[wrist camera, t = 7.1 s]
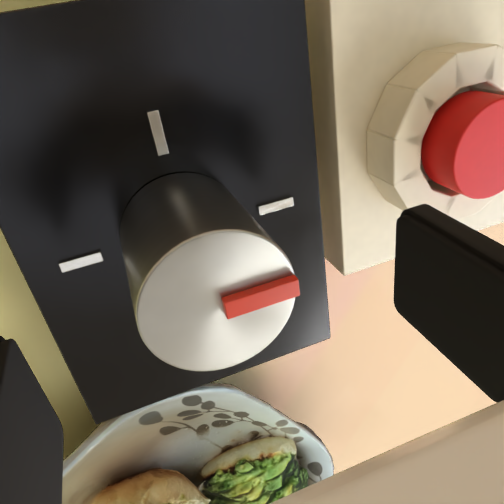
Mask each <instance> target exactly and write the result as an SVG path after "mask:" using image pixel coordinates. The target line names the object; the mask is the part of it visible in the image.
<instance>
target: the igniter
mask: <svg viewBox="0 0 504 504" xmlns="http://www.w3.org/2000/svg"><path fill="white" fill-rule="evenodd" d="M305 12H306V25H307V38H308V51H309V64H310V77H311V90H312V103H313V116H314V129H315V142H316V155H317V168H318V181H319V194H320V207H321V220H322V233H323V246H324V257H325V258H326V259H327V260H328V261H329V262H330V263H331V264H332V265H333V266H334V267H335V268H336V269H338V270H339V271H340V272H341V273H342V274H343V275H348V274H351V273H354V272H357V271H360V270H363V269H366V268H369V267H372V266H375V265H378V264H381V263H383V262H386V261H389V260H392V259H395V245H396V222H397V219H398V218H399V217H400V216H401V213H402V211H404V210H405V209H408V208H411V207H415V206H418V205H421V204H428V205H430V206H432V207H434V208H436V209H437V210H439V211H441V212H443V213H445V214H447V215H448V216H450V217H452V218H454V219H456V220H458V221H459V222H461V223H463V224H465V225H467V226H469V227H470V228H472V229H474V230H476V231H478V230H481V229H484V228H487V227H490V226H493V225H496V224H499V223H502V222H504V190H503V191H502V192H500V193H498V194H496V195H494V196H492V197H489V198H485V199H473V198H469V197H467V196H464V195H462V194H460V193H458V192H455V191H453V190H451V189H449V188H446V187H444V186H442V185H440V184H438V183H435V182H434V181H433V180H431V179H430V178H429V177H428V175H427V174H426V172H425V170H424V168H423V164H422V159H421V148H422V141H423V137H424V134H425V132H426V130H427V128H428V126H429V124H430V122H431V120H432V118H433V116H434V115H435V113H436V112H437V111H438V110H439V108H440V107H441V106H442V105H443V104H444V103H446V102H447V101H448V100H449V99H451V98H452V97H454V96H456V95H458V94H460V93H463V92H466V91H482V92H488V93H494V94H500V95H504V0H305Z"/></svg>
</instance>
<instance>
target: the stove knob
mask: <svg viewBox="0 0 504 504" xmlns="http://www.w3.org/2000/svg"><path fill="white" fill-rule="evenodd" d="M120 243H121V248H122V253H123V258H124V263H125V268H126V273H127V278H128V283H129V288H130V294H131V299H132V304H133V309H134V314H135V319H136V324H137V327H138V331H139V334H140V336H141V338H142V340H143V342H144V343H145V345H146V346H147V348H148V349H149V350H150V351H151V352H152V353H153V354H154V355H155V356H157V357H158V358H159V359H161V360H162V361H164V362H166V363H167V364H169V365H172V366H174V367H177V368H180V369H184V370H189V371H215V370H220V369H225V368H228V367H232V366H235V365H237V364H239V363H242V362H244V361H246V360H248V359H250V358H252V357H253V356H255V355H256V354H258V353H259V352H261V351H262V350H263V349H264V348H265V347H267V346H268V345H269V344H270V343H271V342H272V341H273V340H274V339H275V338H276V337H277V335H278V334H279V333H280V332H281V330H282V329H283V327H284V326H285V324H286V322H287V320H288V319H289V317H290V314H291V312H292V309H293V306H294V301H295V297H297V296H300V289H299V280H298V278H297V277H296V276H295V274H294V270H293V268H292V265H291V263H290V261H289V259H288V257H287V256H286V254H285V253H284V252H283V250H282V249H281V248H280V247H279V246H278V245H277V244H276V243H275V241H274V240H273V239H272V238H271V237H270V236H269V235H268V234H267V233H266V231H265V230H264V229H263V228H262V227H261V226H260V225H259V224H258V223H257V222H256V220H255V219H254V218H253V217H252V216H251V215H250V214H249V213H248V212H247V210H246V209H245V208H244V207H243V206H242V205H241V204H240V203H239V202H238V201H237V199H236V198H235V197H234V196H233V195H232V194H231V193H230V192H229V191H228V190H227V189H226V188H225V187H224V186H223V185H222V184H220V183H219V182H217V181H216V180H214V179H212V178H210V177H207V176H204V175H200V174H196V173H176V174H170V175H167V176H163V177H160V178H158V179H156V180H154V181H152V182H151V183H149V184H147V185H146V186H145V187H143V188H142V189H141V190H140V191H139V192H138V193H137V194H136V195H135V196H134V197H133V198H132V200H131V201H130V202H129V204H128V206H127V208H126V209H125V211H124V214H123V217H122V220H121V225H120Z"/></svg>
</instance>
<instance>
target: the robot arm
mask: <svg viewBox="0 0 504 504" xmlns="http://www.w3.org/2000/svg"><path fill="white" fill-rule="evenodd" d="M394 304H395V307H396V309H397V311H398V312H399V313H400V314H401V315H402V316H403V317H404V318H405V319H406V320H407V321H408V322H409V323H410V324H411V325H412V326H413V327H414V328H416V329H417V330H418V331H419V332H420V333H421V334H422V335H423V336H424V337H425V338H426V339H427V340H428V341H430V342H431V343H432V344H433V345H434V346H435V347H436V348H437V349H438V350H439V351H440V352H441V353H442V354H443V355H445V356H446V357H447V358H448V359H449V360H450V361H451V362H452V363H453V364H454V365H455V366H456V367H457V368H459V369H460V370H461V371H462V372H463V373H464V374H465V375H466V376H467V377H468V378H469V379H470V380H471V381H473V382H474V383H475V384H476V385H477V386H478V387H479V388H480V389H481V390H482V391H483V392H484V393H485V394H486V395H488V396H489V397H490V398H491V399H492V400H493V401H495V402H497V403H496V404H494V405H491V406H489V407H487V408H485V409H482V410H480V411H478V412H475V413H473V414H471V415H469V416H466V417H464V418H462V419H459V420H457V421H455V422H452V423H450V424H448V425H446V426H443V427H441V428H439V429H436V430H434V431H432V432H430V433H427V434H425V435H423V436H421V437H418V438H416V439H414V440H412V441H409V442H407V443H405V444H402V445H400V446H398V447H396V448H393V449H391V450H389V451H387V452H384V453H382V454H380V455H378V456H375V457H373V458H371V459H369V460H366V461H364V462H362V463H360V464H357V465H355V466H353V467H351V468H348V469H346V470H344V471H342V472H339V473H337V474H335V475H333V476H330V477H328V478H326V479H324V480H321V481H319V482H317V483H315V484H312V485H310V486H308V487H306V488H303V489H301V490H299V491H297V492H294V493H292V494H290V495H288V496H285V497H283V498H281V499H279V500H276V501H274V502H272V503H270V504H504V246H503V245H501V244H500V243H498V242H496V241H494V240H492V239H490V238H489V237H487V236H485V235H483V234H481V233H479V232H478V231H476V230H474V229H472V228H470V227H469V226H467V225H465V224H463V223H461V222H459V221H458V220H456V219H454V218H452V217H450V216H448V215H447V214H445V213H443V212H441V211H439V210H437V209H436V208H434V207H432V206H430V205H428V204H421V205H418V206H415V207H411V208H408V209H405V210H404V211H402V213H401V216H400V217H399V218H398V219H397V222H396V245H395V277H394ZM63 442H64V436H63V429H62V425H61V422H60V420H59V418H58V417H57V415H56V413H55V411H54V409H53V408H52V406H51V404H50V402H49V400H48V399H47V397H46V395H45V393H44V391H43V390H42V388H41V386H40V384H39V383H38V381H37V379H36V377H35V375H34V374H33V372H32V370H31V368H30V366H29V365H28V363H27V361H26V359H25V357H24V356H23V354H22V352H21V350H20V348H19V347H18V345H17V343H16V342H15V341H14V340H13V339H8V340H5V339H4V338H3V337H2V336H0V504H62V481H63Z"/></svg>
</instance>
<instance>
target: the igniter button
mask: <svg viewBox="0 0 504 504" xmlns="http://www.w3.org/2000/svg"><path fill="white" fill-rule="evenodd" d="M421 159H422V164H423V168H424V170H425V172H426V174H427V175H428V177H429V178H430V179H431V180H433V181H434V182H435V183H438V184H440V185H442V186H444V187H446V188H449V189H451V190H453V191H455V192H458V193H460V194H462V195H464V196H467V197H469V198H473V199H485V198H489V197H492V196H494V195H496V194H498V193H500V192H502V191H503V190H504V95H500V94H494V93H488V92H482V91H466V92H463V93H460V94H458V95H456V96H454V97H452V98H451V99H449V100H448V101H447V102H446V103H444V104H443V105H442V106H441V107H440V108H439V110H438V111H437V112H436V113H435V115H434V116H433V118H432V120H431V122H430V124H429V126H428V128H427V130H426V132H425V134H424V137H423V141H422V148H421Z"/></svg>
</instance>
